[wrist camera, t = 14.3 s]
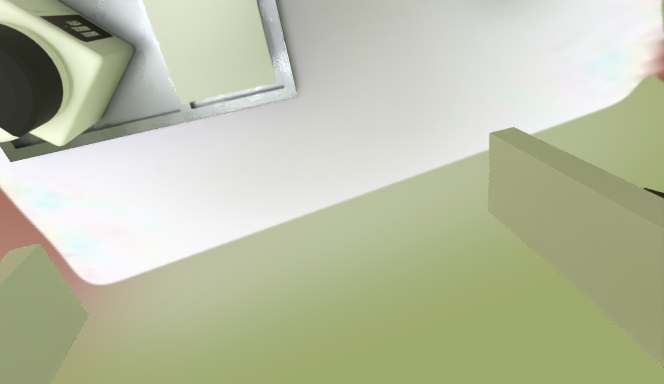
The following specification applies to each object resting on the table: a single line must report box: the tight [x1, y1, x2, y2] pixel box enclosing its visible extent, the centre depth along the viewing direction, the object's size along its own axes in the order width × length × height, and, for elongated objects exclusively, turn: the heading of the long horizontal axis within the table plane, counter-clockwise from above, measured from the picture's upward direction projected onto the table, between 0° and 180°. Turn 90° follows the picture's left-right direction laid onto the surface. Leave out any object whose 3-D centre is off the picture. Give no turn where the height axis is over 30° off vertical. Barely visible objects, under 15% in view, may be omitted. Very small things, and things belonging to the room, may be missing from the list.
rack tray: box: [0, 0, 297, 162], centre depth 32 cm, size 14×27×3 cm, turn 101°
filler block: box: [142, 0, 277, 104], centre depth 30 cm, size 9×8×6 cm
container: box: [0, 0, 134, 146], centre depth 26 cm, size 8×8×13 cm
